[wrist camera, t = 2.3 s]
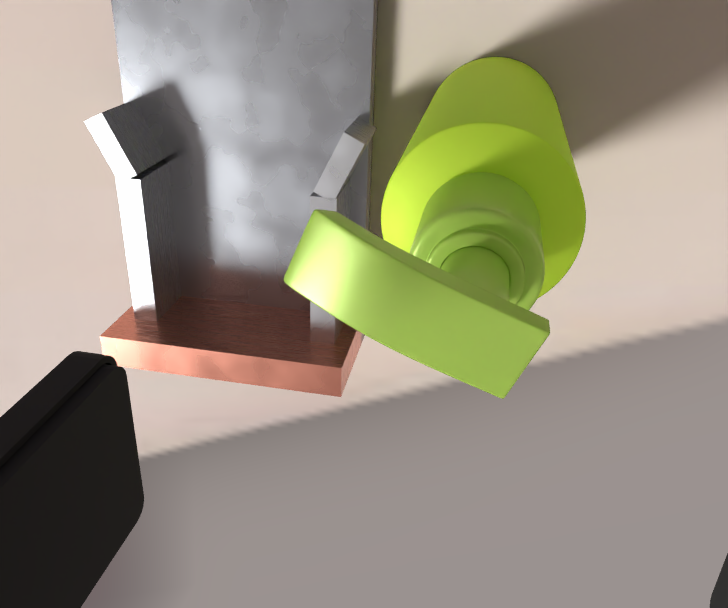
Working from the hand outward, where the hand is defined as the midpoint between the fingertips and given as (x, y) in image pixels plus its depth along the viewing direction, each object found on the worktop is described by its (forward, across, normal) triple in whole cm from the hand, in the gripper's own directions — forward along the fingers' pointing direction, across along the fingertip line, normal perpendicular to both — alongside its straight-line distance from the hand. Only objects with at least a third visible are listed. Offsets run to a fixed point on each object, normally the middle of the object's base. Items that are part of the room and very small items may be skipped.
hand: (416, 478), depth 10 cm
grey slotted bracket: (+24, +11, +3) cm, 27 cm away
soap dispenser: (+24, 0, 0) cm, 25 cm away
